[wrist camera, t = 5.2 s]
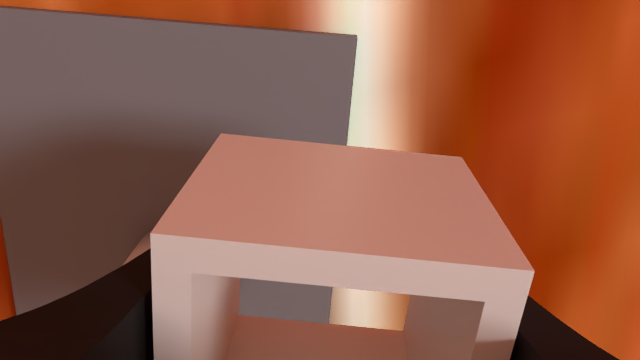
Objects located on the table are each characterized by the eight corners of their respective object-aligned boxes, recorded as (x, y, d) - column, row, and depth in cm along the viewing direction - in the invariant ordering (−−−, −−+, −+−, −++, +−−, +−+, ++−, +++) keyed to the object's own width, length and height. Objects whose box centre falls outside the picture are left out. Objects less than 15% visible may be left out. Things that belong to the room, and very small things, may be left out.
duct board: (356, 35, 18) (361, 54, 14) (317, 431, 25) (313, 519, 21) (-23, 3, 18) (-124, 13, 14) (39, 407, 25) (-18, 491, 21)
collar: (461, 157, 12) (533, 271, 8) (421, 351, 14) (461, 532, 10) (220, 133, 12) (149, 233, 8) (216, 331, 14) (158, 503, 10)
